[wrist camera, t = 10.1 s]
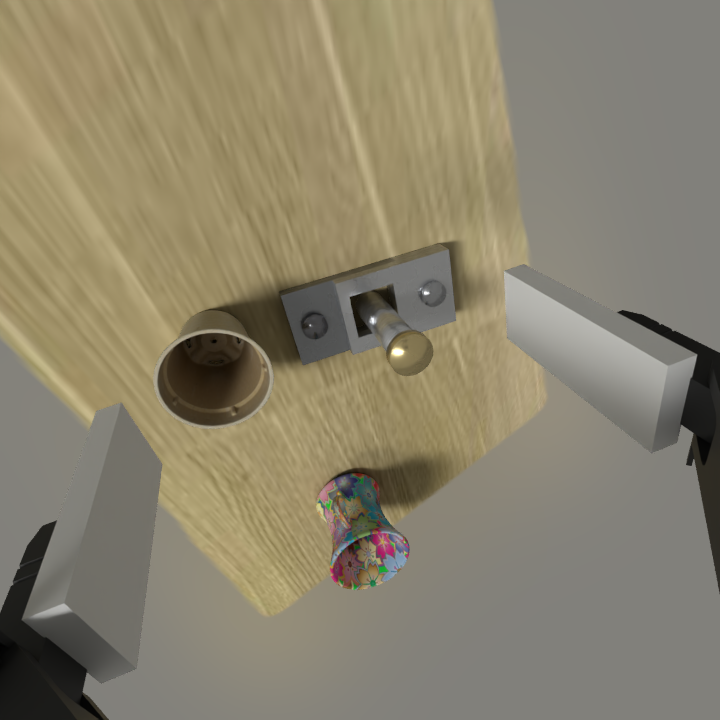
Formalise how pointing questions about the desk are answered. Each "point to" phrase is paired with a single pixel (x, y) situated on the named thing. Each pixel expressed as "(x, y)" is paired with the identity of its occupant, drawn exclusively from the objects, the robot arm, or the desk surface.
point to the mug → (360, 533)
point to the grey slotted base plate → (331, 294)
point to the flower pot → (213, 373)
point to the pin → (394, 335)
